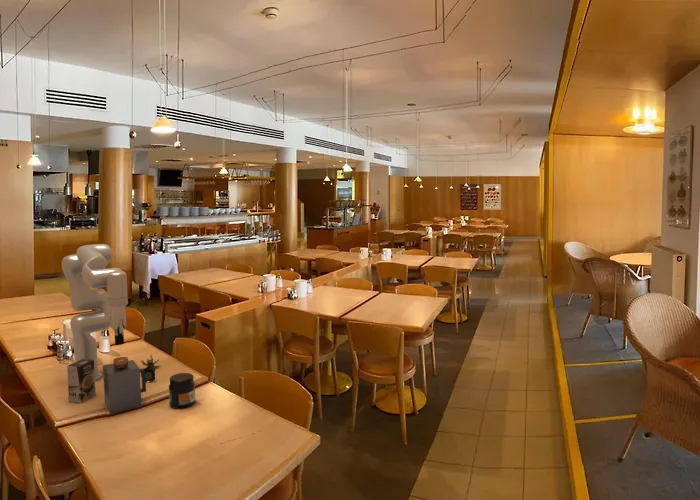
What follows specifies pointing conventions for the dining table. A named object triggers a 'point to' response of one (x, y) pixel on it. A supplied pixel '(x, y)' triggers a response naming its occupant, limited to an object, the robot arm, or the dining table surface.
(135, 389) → the press pot
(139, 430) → the dining table surface
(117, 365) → the plunger
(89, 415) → the dining table surface
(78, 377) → the coffee box
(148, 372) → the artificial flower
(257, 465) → the dining table surface
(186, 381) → the supplement container
